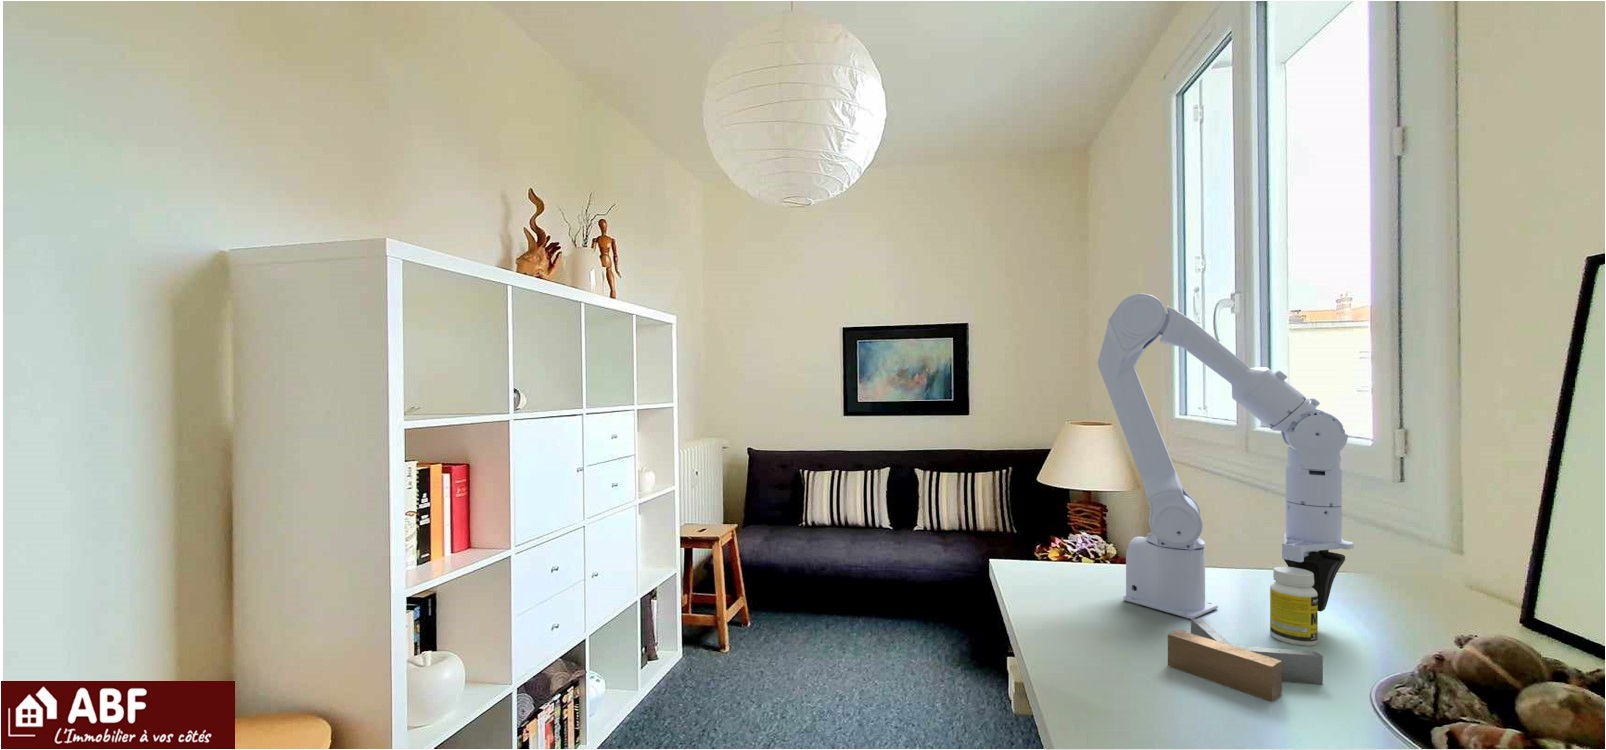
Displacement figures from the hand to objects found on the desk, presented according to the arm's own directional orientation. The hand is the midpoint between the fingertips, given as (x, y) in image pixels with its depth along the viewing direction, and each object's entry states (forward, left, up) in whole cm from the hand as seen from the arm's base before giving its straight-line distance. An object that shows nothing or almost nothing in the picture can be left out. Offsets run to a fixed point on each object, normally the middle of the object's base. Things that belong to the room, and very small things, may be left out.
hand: (1313, 608), depth 84 cm
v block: (0, -23, -2) cm, 23 cm away
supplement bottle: (0, -7, -3) cm, 7 cm away
